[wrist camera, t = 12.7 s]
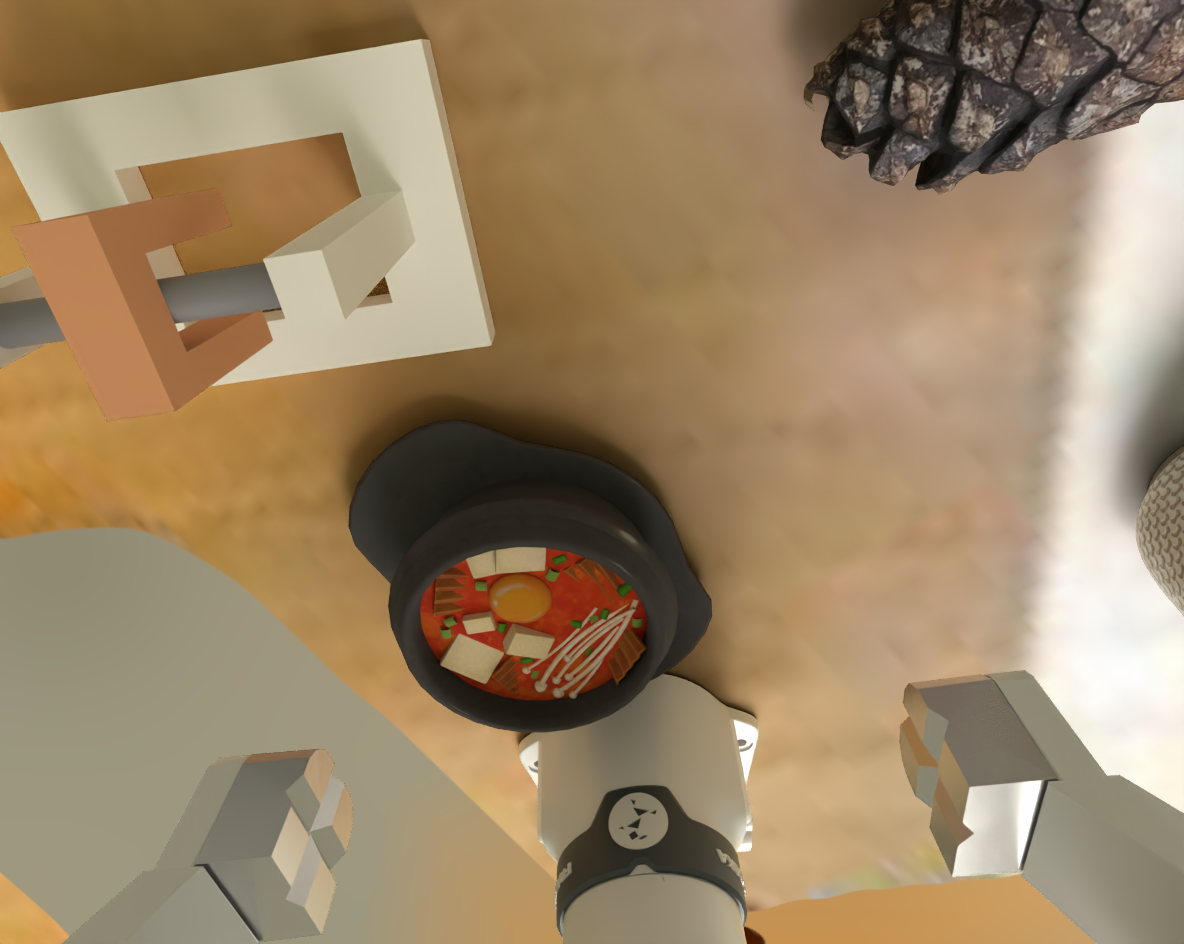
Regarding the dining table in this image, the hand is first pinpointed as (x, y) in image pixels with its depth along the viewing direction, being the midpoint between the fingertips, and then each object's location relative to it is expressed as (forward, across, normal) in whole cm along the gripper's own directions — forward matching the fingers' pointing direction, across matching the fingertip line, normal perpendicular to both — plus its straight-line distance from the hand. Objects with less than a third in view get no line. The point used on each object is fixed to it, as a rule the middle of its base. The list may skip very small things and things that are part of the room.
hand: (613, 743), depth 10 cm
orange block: (+24, -16, +3) cm, 29 cm away
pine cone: (+31, +19, +6) cm, 37 cm away
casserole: (+31, -6, -20) cm, 38 cm away
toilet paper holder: (+31, -16, +3) cm, 35 cm away
